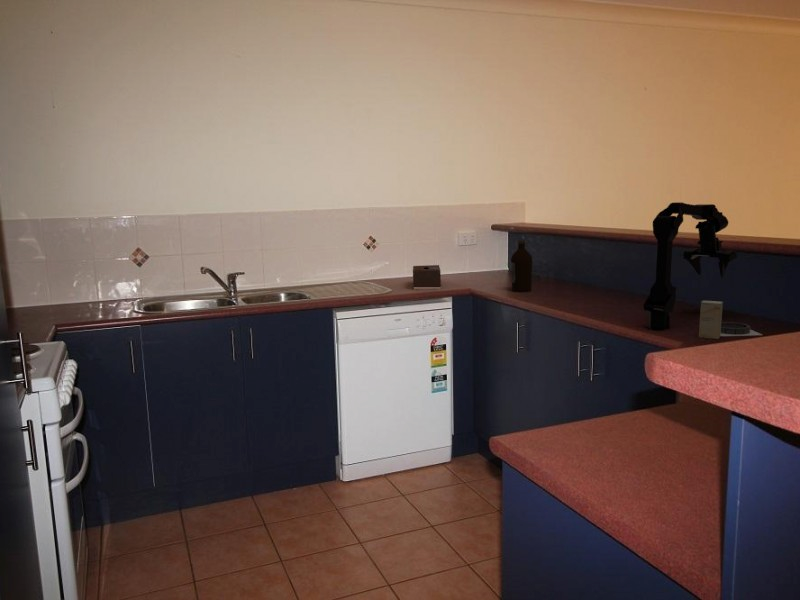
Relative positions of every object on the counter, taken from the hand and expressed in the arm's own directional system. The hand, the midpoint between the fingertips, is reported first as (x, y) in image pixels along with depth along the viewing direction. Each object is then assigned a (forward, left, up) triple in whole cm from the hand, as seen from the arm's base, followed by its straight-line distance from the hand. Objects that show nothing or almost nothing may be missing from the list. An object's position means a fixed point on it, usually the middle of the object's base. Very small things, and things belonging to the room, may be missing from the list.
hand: (711, 275), depth 254 cm
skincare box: (-16, -37, -16) cm, 44 cm away
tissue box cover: (-107, +103, -16) cm, 149 cm away
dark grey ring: (-6, -30, -15) cm, 34 cm away
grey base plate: (-6, -30, -15) cm, 35 cm away
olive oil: (-60, +76, -16) cm, 98 cm away
